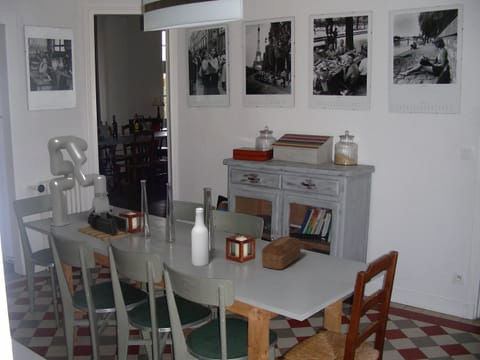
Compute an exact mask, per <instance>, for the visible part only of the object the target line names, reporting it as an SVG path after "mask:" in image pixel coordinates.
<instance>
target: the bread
mask: <svg viewBox="0 0 480 360" xmlns="http://www.w3.org/2000/svg"><path fill="white" fill-rule="evenodd" d="M301 246H302V241H301V240H300V239H299V238H297V237H293V236H288V235H287V236H281V237H278V238H275V239H273V240H272V241H270V242H269V243H268V244H267V245H266V246H264V247H263V248H262V249H261V257H262V258H261V264H262V266H263V268H264V267H265V268H268V269H272V270H283V269H285V268H286V267H287V266H289V265H290V264H292V263H294V262H295V261H296V260H297V259H299V257H300V256H301Z"/></svg>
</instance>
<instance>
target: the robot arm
mask: <svg viewBox="0 0 480 360" xmlns="http://www.w3.org/2000/svg"><path fill="white" fill-rule="evenodd" d="M88 146H89V145H88V142H87V141H86V140H85V139H84V138H81V137H77V136H75V135H63V136H62V135H60V136H54V137H51V138H50V139H49V140H48V141H47V150H48V153H49V167H50V168H49V169H50V173H51V175H52V176H53V177H55V178H52V179H50V180H49V182H48V187H49V192H50V198H51V212H52V213H51V214H52V217H51V219H52V221H51V222H50V226H51V227H52V226H53V227H63V226H68V225H70V224H71V221H70V220H68V204H67V203H68V202H67V196H66V195H65V193H64V192H66V191H70V190H72V189H74V188H75V185H76V182H77V183H78V185H79V186H80V187H82V188H88V187H93V198H92V204H91V208H90V209H89V210H88V211H87V212H88V213H89V215H91V216H92V217H93V223H97V219H96V215H97V214H98V215H100V213H104V212H107V214H106V216H107V218H108V219H110V214H112V212H113V209H114V205H111V204H110V201H109V197H108V196H107V195H109V192H108V191H107V177H106V176H105V174H99V173H90V174H84V173H83V171H82V166H83V165H84V164H86V163H87V162H88V158H87V156H86V154H85V152H86V151H87V150H88V149H89V147H88ZM61 150H66V152H67V154H68V155H69V157H70V159H71V160H72V161H71V160H69V159H67V160H64V153H63V152H62V151H61ZM92 212H93V213H92Z"/></svg>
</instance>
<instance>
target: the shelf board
mask: <svg viewBox="0 0 480 360" xmlns="http://www.w3.org/2000/svg"><path fill="white" fill-rule="evenodd" d="M76 229H77V231H78V232H80V233H82V234H85V235H87V236H90V235H91V236H90V237H94V238H95V237H96V239H98V240H100V239H101V240H100V241H104V242H108V237H110V238H111V240H110V241H114V240H118V239H122V238H126V237H131V232H128V233H124V232H121V231H119V230H117V232H118V233H117V234H108V233H103V232H100V231H98V230H96V229H95V228H92V226H91V225H87V226H81V227H77V228H76Z"/></svg>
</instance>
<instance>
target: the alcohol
mask: <svg viewBox="0 0 480 360" xmlns="http://www.w3.org/2000/svg"><path fill="white" fill-rule="evenodd" d="M194 223H195V224H194V226H193V228H192V229H191V233H190V235H191V264H192V265H193V266H195V267H204V266H207V265H209V258H210V257H209V231H208V228H207V226H206V225H205V219H204V208H203V207H197V208H195V221H194Z"/></svg>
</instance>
